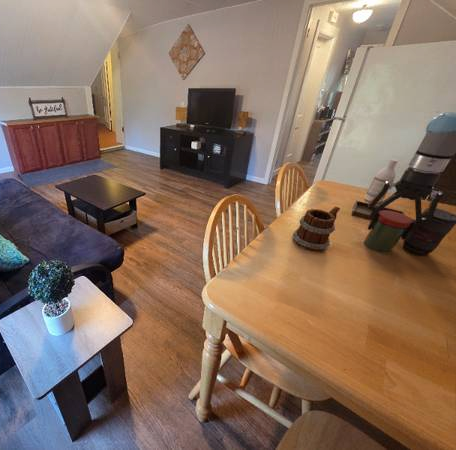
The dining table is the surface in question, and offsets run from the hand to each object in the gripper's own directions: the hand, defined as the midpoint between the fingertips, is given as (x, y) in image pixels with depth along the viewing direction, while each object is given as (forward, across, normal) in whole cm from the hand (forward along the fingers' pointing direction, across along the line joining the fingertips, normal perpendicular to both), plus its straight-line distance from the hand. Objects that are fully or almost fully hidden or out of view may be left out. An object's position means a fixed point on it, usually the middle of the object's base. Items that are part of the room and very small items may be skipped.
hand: (385, 232), depth 85 cm
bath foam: (+6, -3, +46) cm, 47 cm away
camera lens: (+6, +10, +5) cm, 13 cm away
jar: (+6, 0, 0) cm, 6 cm away
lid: (-6, 0, 0) cm, 6 cm away
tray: (+6, -1, +28) cm, 29 cm away
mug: (+6, -19, -12) cm, 23 cm away
